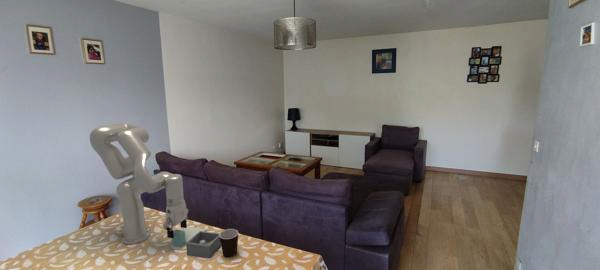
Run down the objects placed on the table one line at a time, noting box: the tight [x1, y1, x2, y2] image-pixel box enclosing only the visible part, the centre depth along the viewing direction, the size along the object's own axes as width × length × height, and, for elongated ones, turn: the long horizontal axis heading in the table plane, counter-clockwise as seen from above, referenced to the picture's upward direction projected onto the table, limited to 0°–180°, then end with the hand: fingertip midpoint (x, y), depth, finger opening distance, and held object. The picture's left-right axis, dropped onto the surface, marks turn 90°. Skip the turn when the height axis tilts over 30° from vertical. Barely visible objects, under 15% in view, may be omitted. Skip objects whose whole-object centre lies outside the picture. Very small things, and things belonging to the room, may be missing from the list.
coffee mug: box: [219, 228, 239, 259], centre depth 130 cm, size 12×9×10 cm
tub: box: [185, 231, 222, 259], centre depth 132 cm, size 12×11×6 cm
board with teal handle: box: [170, 226, 208, 248], centre depth 143 cm, size 16×12×7 cm
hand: (177, 232), depth 137 cm, fingers open, 9 cm apart
